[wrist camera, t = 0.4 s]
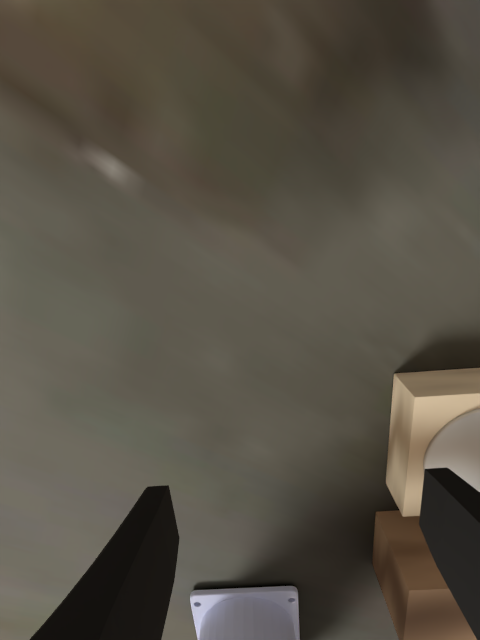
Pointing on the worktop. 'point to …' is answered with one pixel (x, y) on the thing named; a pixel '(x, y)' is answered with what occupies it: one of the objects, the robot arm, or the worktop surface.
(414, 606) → the walnut cube
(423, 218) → the worktop surface
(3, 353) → the worktop surface
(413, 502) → the base block
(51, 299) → the worktop surface
